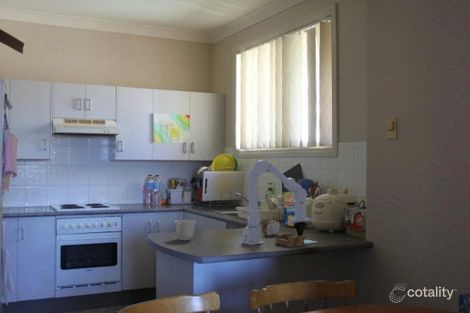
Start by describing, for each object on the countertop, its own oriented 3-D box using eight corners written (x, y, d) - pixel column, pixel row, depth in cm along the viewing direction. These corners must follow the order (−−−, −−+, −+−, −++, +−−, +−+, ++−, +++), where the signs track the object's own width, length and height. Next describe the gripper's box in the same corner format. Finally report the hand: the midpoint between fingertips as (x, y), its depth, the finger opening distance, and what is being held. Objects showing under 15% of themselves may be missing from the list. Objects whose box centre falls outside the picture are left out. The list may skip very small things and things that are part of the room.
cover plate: (303, 245, 267) (303, 243, 267) (292, 243, 273) (292, 241, 273) (317, 243, 274) (317, 241, 274) (306, 241, 280) (306, 239, 280)
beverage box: (299, 226, 340) (300, 193, 341) (283, 225, 344) (284, 192, 344) (301, 224, 347) (302, 192, 347) (285, 223, 351) (286, 191, 351)
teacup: (167, 241, 272) (167, 222, 272) (179, 237, 286) (180, 219, 286) (187, 242, 268) (188, 223, 268) (199, 238, 282) (199, 220, 282)
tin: (276, 233, 306) (276, 219, 306) (281, 234, 304) (281, 219, 304) (261, 236, 294) (261, 221, 294) (266, 236, 292) (266, 222, 292)
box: (288, 247, 259) (288, 237, 259) (274, 244, 266) (275, 234, 266) (305, 244, 266) (305, 235, 266) (291, 242, 274) (291, 232, 274)
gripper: (296, 211, 263) (295, 238, 263) (315, 210, 272) (314, 235, 272) (286, 210, 269) (286, 236, 269) (305, 209, 278) (305, 234, 278)
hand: (300, 236), depth 271 cm, fingers closed
